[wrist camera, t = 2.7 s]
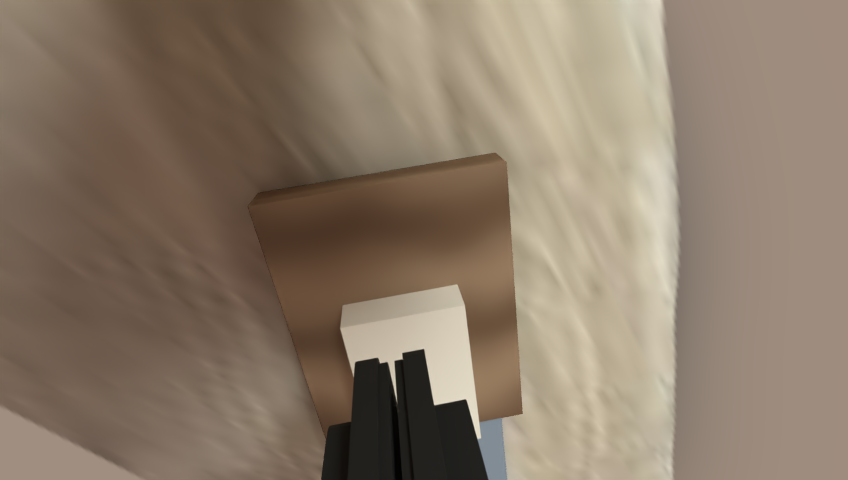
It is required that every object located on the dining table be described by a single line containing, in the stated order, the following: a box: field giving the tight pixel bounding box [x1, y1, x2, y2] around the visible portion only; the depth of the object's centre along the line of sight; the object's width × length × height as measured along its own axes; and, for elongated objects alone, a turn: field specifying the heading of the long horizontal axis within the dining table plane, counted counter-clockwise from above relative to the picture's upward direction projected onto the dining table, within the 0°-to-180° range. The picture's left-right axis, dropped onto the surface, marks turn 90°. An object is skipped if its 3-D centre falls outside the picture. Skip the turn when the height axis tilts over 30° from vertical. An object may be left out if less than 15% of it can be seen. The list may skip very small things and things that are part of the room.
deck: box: [248, 153, 523, 438], centre depth 24 cm, size 16×12×2 cm
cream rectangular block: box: [340, 284, 481, 439], centre depth 23 cm, size 9×6×2 cm, turn 9°
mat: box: [478, 418, 507, 480], centre depth 31 cm, size 11×10×1 cm
